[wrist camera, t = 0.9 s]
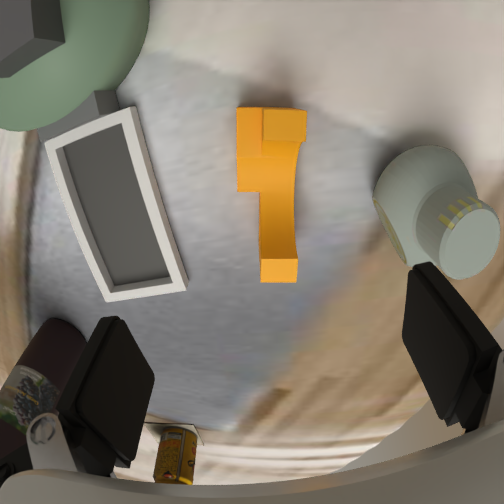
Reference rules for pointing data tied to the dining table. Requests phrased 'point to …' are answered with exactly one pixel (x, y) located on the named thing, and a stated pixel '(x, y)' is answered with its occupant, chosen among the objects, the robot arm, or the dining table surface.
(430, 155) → the air freshener
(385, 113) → the dining table surface
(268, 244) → the pipe clamp
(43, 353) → the wine bottle
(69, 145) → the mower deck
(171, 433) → the condiment
